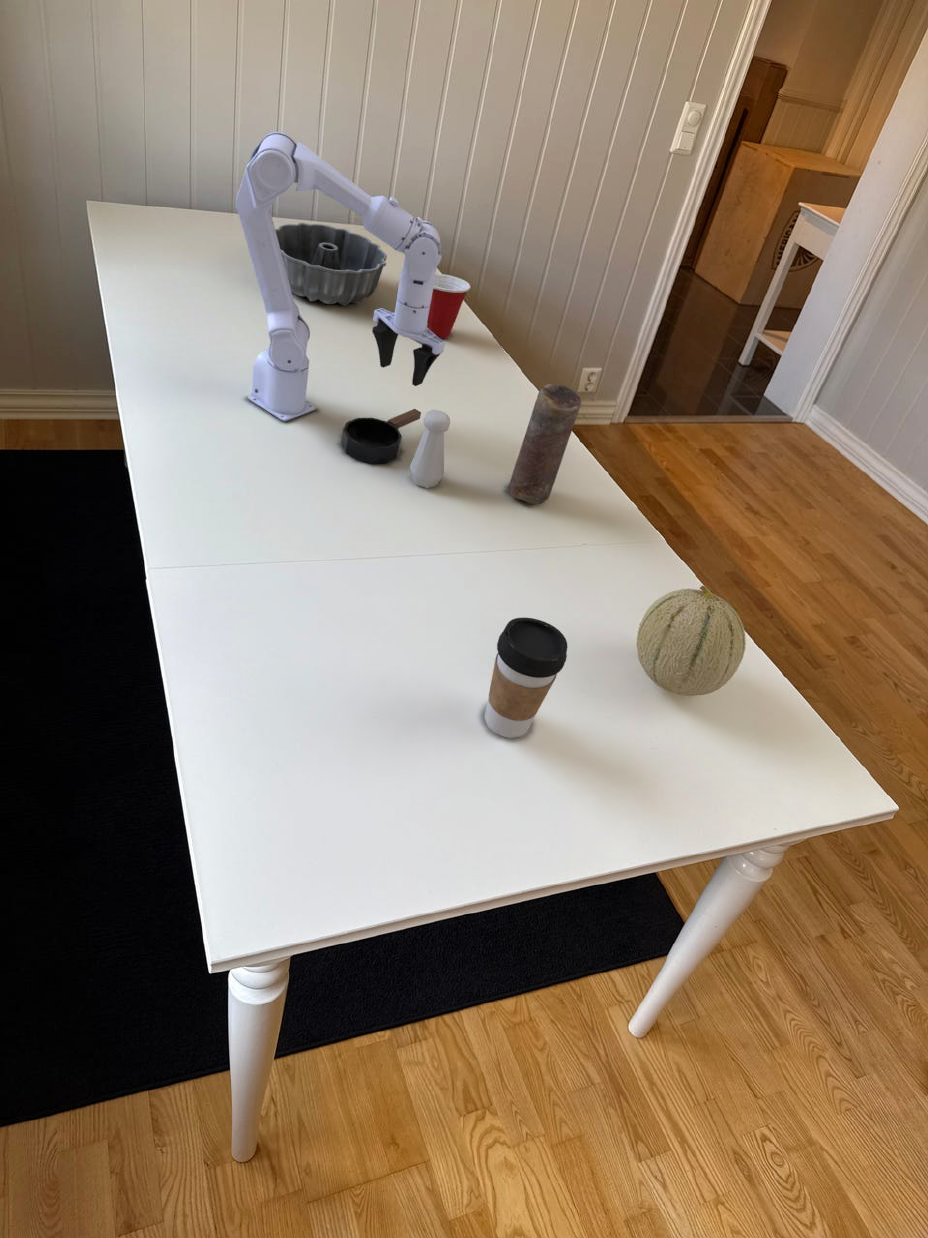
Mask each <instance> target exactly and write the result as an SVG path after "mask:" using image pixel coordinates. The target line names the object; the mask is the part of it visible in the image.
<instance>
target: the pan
mask: <svg viewBox="0 0 928 1238" xmlns="http://www.w3.org/2000/svg"><path fill="white" fill-rule="evenodd" d="M421 415H422V412H421V411H419V410H418V409H416V408H413V409H410V410H408V411H406V412H404V413H403V412H402V413H401V414H399V415H397V416H394V417H392V418H390V419H388V420H383V419H380V418H375V417H356V418H353V419H350V420H348V421H347V422H345V425H344V426H343V429H342V435H341V442H340V445H341V448H342V449H343V451H344V453H345V454H346V455H347V456H349V457H351V458H352V459H354V460H356V461H357V462H362V463H366V464H369V465H386V464H388V463H391V462H393V461H395V460H397V459H398V456H399V454H400V451H401V446H402V445H401V444H402V438H403V435H402V433H401V431H400V430H399V429H401V428H402V427H405V426H407V425H410V424H412V423H414V422H416V421H418V420H420V419H421Z"/></svg>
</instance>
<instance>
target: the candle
mask: <svg viewBox="0 0 928 1238" xmlns="http://www.w3.org/2000/svg"><path fill="white" fill-rule="evenodd" d="M581 406H582V401H581V396H580V395H579V394H578V392H576V391H574V390H573V389H571V388H570V387H568V386H566V385H564V384H555V383H549V384H545V385H544V386H542V387H541V388H540V389H539V391H538V393H537V396H536V399H535V402H534V406H533V408H532V412H531V415H530V418H529V421H528V424H527V427H526V431H525V433H524V437H523V439H522V443H521V447H520V449H519V453H518V456H517V459H516V461H515V465H514V468H513V471H512V474H511V477H510V481H509V484H508V487H507V489H508V493H509V495H510V496H512V497H513V498H516V499H517V500H523V501H524V502H525V503H527V504H528V503H529V504H531V505H538V504H543V503H544V502H546V501H547V500H548V499H550V496H551V493H552V490H553V487H554V484H555V482H556V479H557V475H558V473H559V469H560V468H561V464H562V461H563V458H564V455H565V452H566V449H567V446H568V444H569V440H570V437H571V434H572V432H573V428H574V426H575V423H576V420H577V417H578V416H579V415H578V414H579V411H580V409H581Z"/></svg>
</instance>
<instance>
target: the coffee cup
mask: <svg viewBox="0 0 928 1238" xmlns="http://www.w3.org/2000/svg"><path fill="white" fill-rule="evenodd" d="M496 649H497V650H496V651H497V653H496V655H495V659H494V664H493V670H492V675H491V680H490V687H489V692H488V698H487V703H486V707H485V712H484V721H485V724H486V726H487V727H488V728H489V730H490V731H492V732H493V733H494V734H496V735H498V736H501V737H503V738H507V739H515V738H519V737H522V736H523V735H525V734H527V732H528V730H529V728H530V727H531V724H532V722H533V721H534V719H535V717H536V715H537V713H538V711H539V709H540V708H541V706H542V704H543V703H544V701H545V699H546V697H547V696H548V693H549V692H550V690H551V688H552V686H553V685H554V682H555V680H556V679H557V676H558V674H559V673H560V672H561V671H562V670H563V668H564V666H565V664H566V662H567V658H568V655H567V652H568V641H567V639H566V636H565V635H564V634H563V633H562V632H561V631H560V630H559V629H558V628H557V627H555V626H554V625H553V624H551V623H548V622H546V621H544V620H541V619H539V618H538V619H537V618H532V617H516V618H512V619H510V621H508V622H507V623H506V625H505V627H504V628H503V630H502V632H501V633H500V634H499V637H498V639H497V642H496Z"/></svg>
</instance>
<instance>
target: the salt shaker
mask: <svg viewBox="0 0 928 1238" xmlns="http://www.w3.org/2000/svg"><path fill="white" fill-rule="evenodd" d="M450 425H451V418H450V416H449V415H448V413H446V412H445V411H442V410H439V409H431V410H429V411H427V412H426V413H425V415H424V417H423V426H424V431H423V433H422V436H421V438H420V441H419V443H418V445H417V448H416V449H415V450H416V451H415V453H414V455H413V458H412V460H411V463H410V465H409V471H410V475H411V479H412V481H413V482H414V483H415V485H416V486H419V487H422V488H425V489H430V488H433V487H436V486H437V485H438V484H439V482H440V481H441V480H442V478H443V475H444V473H445V432H446V431H448V430H449V428H450Z"/></svg>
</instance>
